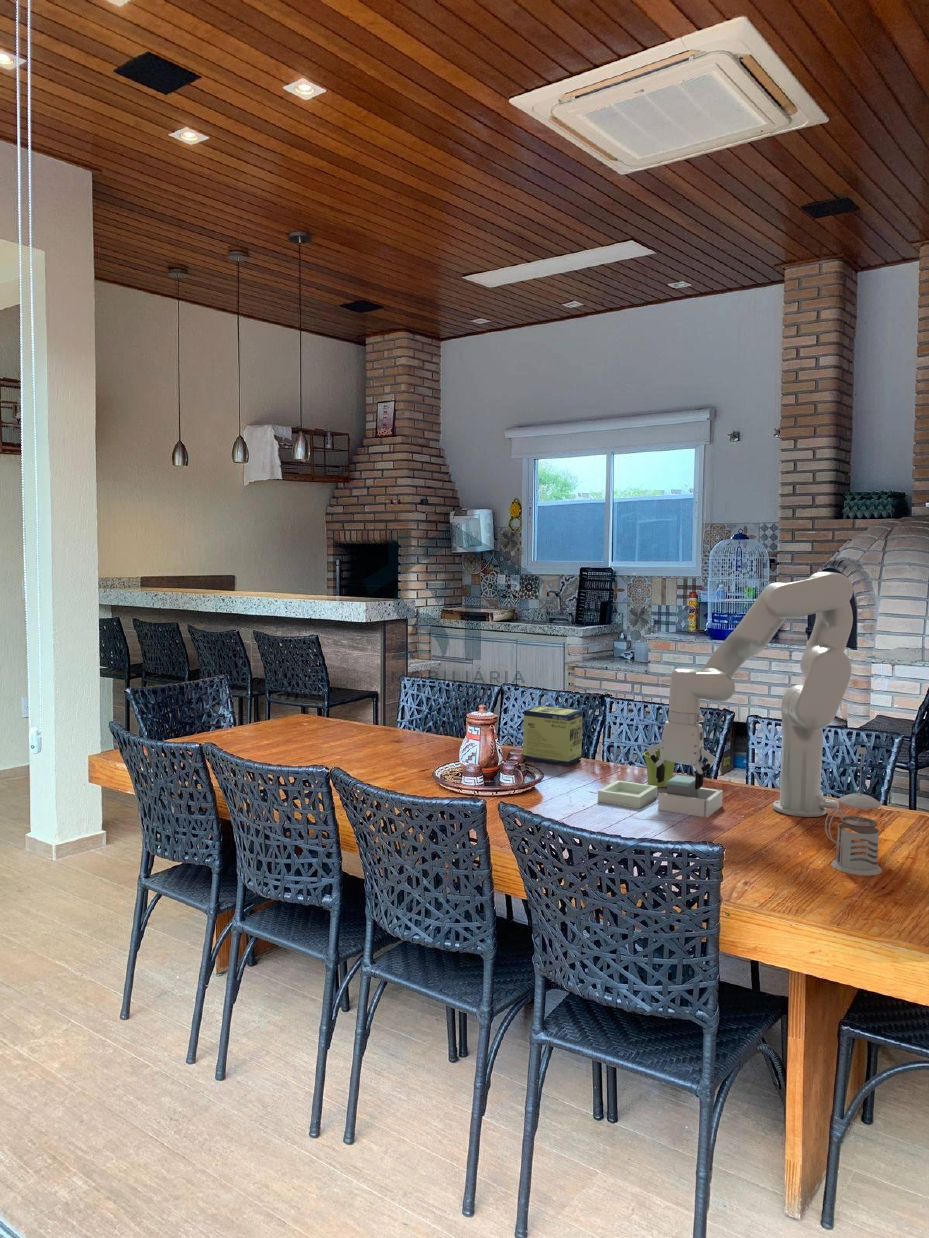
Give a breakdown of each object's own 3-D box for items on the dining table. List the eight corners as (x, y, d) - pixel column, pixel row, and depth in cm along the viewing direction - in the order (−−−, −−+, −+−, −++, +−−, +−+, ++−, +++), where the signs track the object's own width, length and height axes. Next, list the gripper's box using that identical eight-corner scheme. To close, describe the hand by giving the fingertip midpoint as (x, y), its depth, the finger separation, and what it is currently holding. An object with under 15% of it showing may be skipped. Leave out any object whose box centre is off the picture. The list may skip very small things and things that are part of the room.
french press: (892, 875, 188) (898, 752, 186) (836, 875, 187) (842, 752, 185) (867, 858, 197) (872, 742, 196) (814, 859, 197) (819, 742, 195)
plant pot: (677, 790, 252) (678, 758, 251) (642, 788, 254) (643, 756, 253) (676, 781, 261) (677, 751, 261) (642, 779, 263) (643, 749, 262)
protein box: (568, 766, 278) (569, 715, 277) (521, 760, 286) (522, 709, 284) (582, 760, 287) (583, 710, 286) (536, 753, 295) (537, 705, 293)
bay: (722, 805, 237) (722, 790, 237) (707, 817, 226) (708, 801, 226) (674, 798, 243) (674, 783, 243) (658, 809, 233) (658, 793, 232)
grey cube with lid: (697, 804, 238) (698, 777, 238) (687, 812, 231) (688, 784, 231) (676, 801, 241) (676, 774, 240) (665, 808, 234) (666, 781, 233)
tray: (657, 796, 245) (657, 786, 245) (639, 808, 234) (639, 797, 234) (616, 790, 251) (617, 780, 251) (597, 801, 240) (598, 790, 239)
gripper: (722, 720, 233) (717, 788, 234) (655, 711, 242) (651, 776, 243) (713, 724, 227) (708, 794, 228) (645, 715, 236) (641, 782, 237)
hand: (679, 784), depth 236 cm, fingers open, 9 cm apart
